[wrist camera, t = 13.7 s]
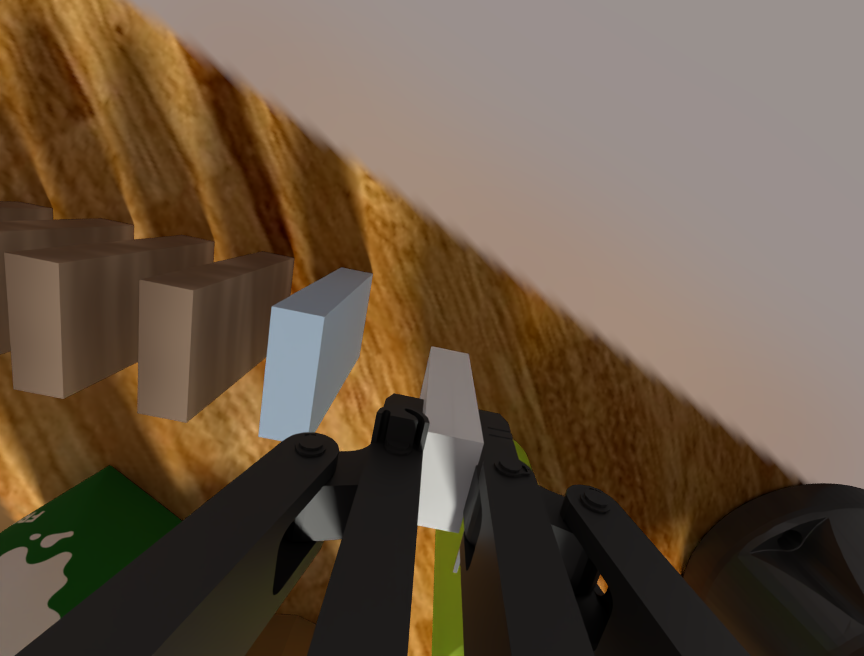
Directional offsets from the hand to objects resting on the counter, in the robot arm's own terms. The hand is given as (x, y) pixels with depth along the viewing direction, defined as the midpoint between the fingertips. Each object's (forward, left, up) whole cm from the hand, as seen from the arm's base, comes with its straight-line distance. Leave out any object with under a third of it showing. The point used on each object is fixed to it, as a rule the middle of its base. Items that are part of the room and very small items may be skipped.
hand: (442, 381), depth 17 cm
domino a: (+10, 0, -8) cm, 13 cm away
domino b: (+14, 0, -8) cm, 16 cm away
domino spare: (+5, 0, -8) cm, 10 cm away
